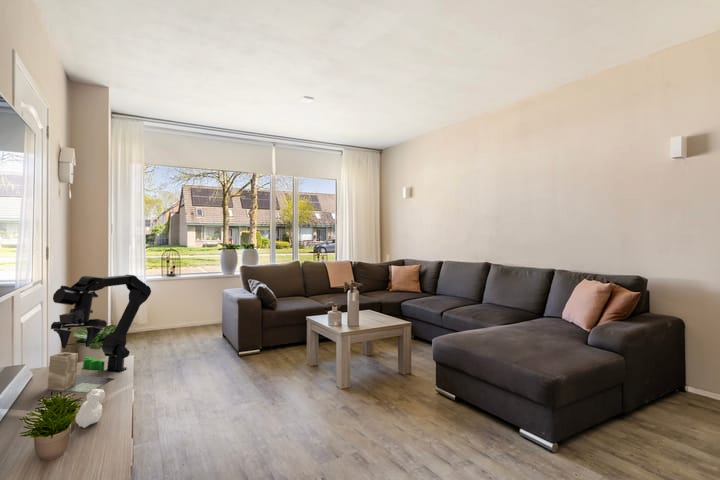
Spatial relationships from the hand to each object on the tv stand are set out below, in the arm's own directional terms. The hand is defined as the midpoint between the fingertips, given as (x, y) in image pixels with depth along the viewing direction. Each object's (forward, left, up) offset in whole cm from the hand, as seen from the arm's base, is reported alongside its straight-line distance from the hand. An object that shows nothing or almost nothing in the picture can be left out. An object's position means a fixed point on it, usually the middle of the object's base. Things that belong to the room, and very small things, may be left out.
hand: (75, 347), depth 153 cm
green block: (-20, -8, -16) cm, 27 cm away
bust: (+25, +26, -16) cm, 40 cm away
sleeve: (+4, -1, -14) cm, 14 cm away
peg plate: (0, +3, -15) cm, 16 cm away
